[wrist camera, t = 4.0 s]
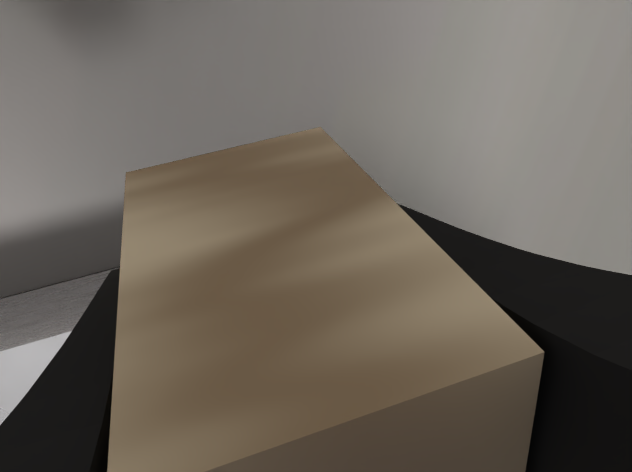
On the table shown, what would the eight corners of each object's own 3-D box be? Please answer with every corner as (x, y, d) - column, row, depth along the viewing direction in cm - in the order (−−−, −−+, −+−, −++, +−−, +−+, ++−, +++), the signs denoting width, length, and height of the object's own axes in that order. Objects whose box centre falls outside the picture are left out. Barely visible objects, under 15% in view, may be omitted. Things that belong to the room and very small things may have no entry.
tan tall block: (320, 126, 10) (543, 351, 5) (339, 278, 13) (510, 561, 7) (125, 172, 10) (104, 506, 4) (181, 324, 12) (222, 686, 6)
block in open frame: (210, 242, 19) (227, 316, 15) (267, 440, 25) (290, 526, 21) (-288, 376, 16) (-419, 508, 12) (-79, 560, 22) (-123, 684, 18)
